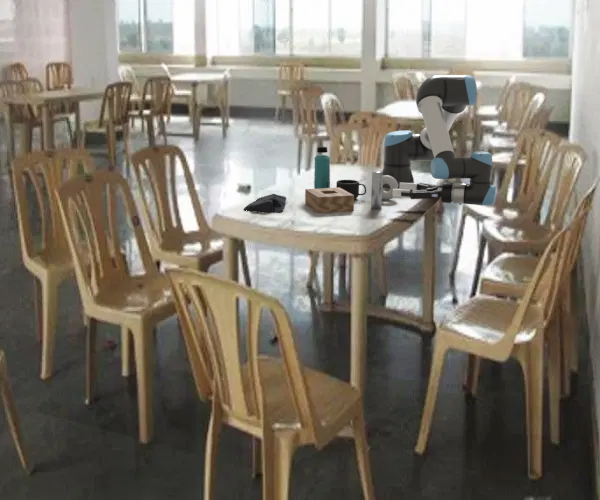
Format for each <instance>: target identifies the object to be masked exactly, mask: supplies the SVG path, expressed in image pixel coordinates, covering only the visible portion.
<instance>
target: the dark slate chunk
mask: <svg viewBox="0 0 600 500" xmlns="http://www.w3.org/2000/svg"><path fill="white" fill-rule="evenodd" d="M256 199H257V200H256ZM256 199H255V200H256V201H255V200H254V201H252V202H251V203H248V204H247V205H246V206H245V207H244V208H243V210H247V211H246V212H248V211H257V212H256V213H262V212H264V214H265V213H266V214H267V213H268V214H269V213H272V214H273V213H275V214H276V213H282V212H283V211H284V209H285V206H286V201H287V197H286V196H285V195H280V194H276V193H271V194H268V195H264V196H261V197H259V198H256Z"/></svg>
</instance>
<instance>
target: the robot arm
mask: <svg viewBox="0 0 600 500" xmlns="http://www.w3.org/2000/svg"><path fill="white" fill-rule="evenodd" d="M477 99H478V87H477V83H476V79H475V78H474V76H472V75H466V74H457V75H456V74H450V75H449V74H448V75H447V74H446V75H444V74H442V75H440V74H438V75H431V76H429V77H427V78H425V80H424V81H422V83H421V84H420V86H419V87H418V90H417V93H416V97H415V103H416V107H417V110H418V112H419V113H420V114H421V116H422V119H423V123H424V126H425V127H424V128H423V129H422V130H421V132H420V133H413V131H412V130H407V129H406V130H396V131H395V130H394V131H391V132H388V133H386V134H385V136H384V143H383V146H384V151H383V152H384V153H383V168H382V171H381V172H383V175H388V176H391V177H393V178H394V179H395V180H396V181H397V183H398V187H399V189H393V195H392V196H393V197H394V198H408V199H409V198H410V199H411V200H424V199H425V200H426V199H432V200H433V199H434V200H437V199H438V197H439V198H440V201H441V202H442V203H445V204H451V203H453V204H458V205H459V206H461V205H474V206H475V205H476V206H494V205H495V202H496V199H497V198H496V197H497V187H496V185H493V184H492V182H491V181H492V169H493V154H492V153H491V152H488V151H481V150H480V151H477V150H476V151H473V152H471V154H470V156H469V157H456V154H455V150H454V147H453V144H452V139H451V137H450V134H449V131H450V129H451V127H452V125H454V124H453V123H454V122H455V120H456V118H457V117H458V115H459V114H461V113H463V112H464V111H465V110H466V108H467V107H468V106H469V107H471V106H475V104H476V103H477ZM418 161H421V162H423V161H425V162H426V161H428V162H429V161H431V162H430V174H431V177H432V178H434V179H436V180H437V179H438V180H454V179H459V180H461V179H462V180H463V179H469V183H462V182H454V183H453V182H447V181H445V182H443V183H442V185H437V184H432V183H425V182H419V183H415V179H414V175H413V173H412V169H411V167H412V166H411V164H412V162H418ZM383 188H390V186H389V184H384V185H383Z"/></svg>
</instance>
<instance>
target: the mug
mask: <svg viewBox="0 0 600 500" xmlns="http://www.w3.org/2000/svg"><path fill="white" fill-rule="evenodd" d="M335 186H336V187H335V188H338V187H339V188H341V189H343V190H345V191H347V192H349V193H351V194H353V195H354V200H356V199H357V198H358V197H359V196H364V195H366V193H367V188H366V185H365V184H363V183H360V181H358V180H355V179H340V180H337V181H336V185H335ZM360 186H363V188H364V192H362V193H360Z"/></svg>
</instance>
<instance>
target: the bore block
mask: <svg viewBox="0 0 600 500" xmlns="http://www.w3.org/2000/svg"><path fill="white" fill-rule="evenodd" d="M304 199H305V201H304V204H305V205H306V206H307V207H308V208H310V209H311V210H313V211H315V212H316V213H317V214H323V213H325V214H326V213H327V214H329V213H341V212H353V211H355V210H354V209H355V208H354V207H355V199H354V195H353V194H351V193H349V192H347V191H345V190H343V189H341V188H339V187H338V188H336V187H330V188H319V189H315V188H305V195H304Z"/></svg>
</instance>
